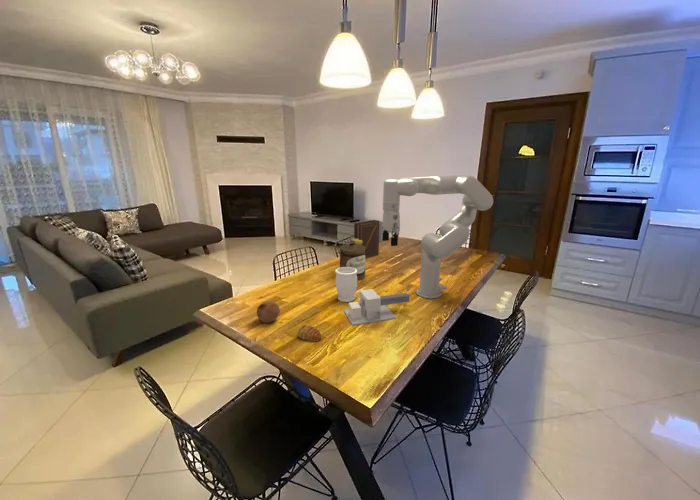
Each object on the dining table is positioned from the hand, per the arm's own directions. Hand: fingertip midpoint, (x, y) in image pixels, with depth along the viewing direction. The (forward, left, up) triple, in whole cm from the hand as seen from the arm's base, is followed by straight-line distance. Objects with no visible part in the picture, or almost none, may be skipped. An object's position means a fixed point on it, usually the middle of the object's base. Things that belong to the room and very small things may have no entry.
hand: (389, 243), depth 145 cm
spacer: (+20, +14, -25) cm, 35 cm away
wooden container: (+8, -33, -29) cm, 44 cm away
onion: (+58, +6, -29) cm, 65 cm away
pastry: (+43, +23, -29) cm, 57 cm away
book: (-13, -67, -28) cm, 74 cm away
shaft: (+7, +14, -24) cm, 28 cm away
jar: (+20, -5, -28) cm, 35 cm away
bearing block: (+15, +14, -28) cm, 35 cm away
